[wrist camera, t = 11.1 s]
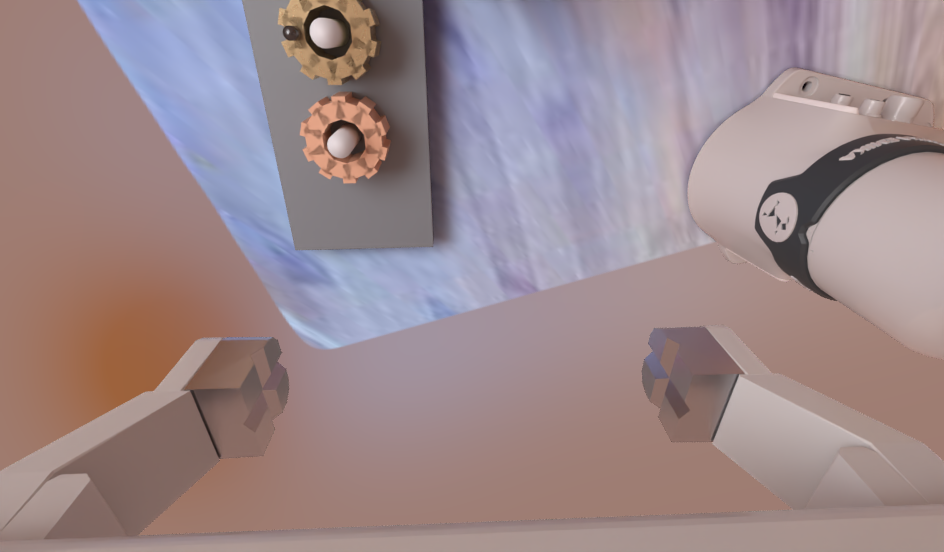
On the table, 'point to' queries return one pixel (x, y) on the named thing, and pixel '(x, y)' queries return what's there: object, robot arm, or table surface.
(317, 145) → the loose gear
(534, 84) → the table surface
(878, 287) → the robot arm
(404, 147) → the gear board
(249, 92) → the table surface
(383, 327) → the table surface
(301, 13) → the gear
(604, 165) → the table surface
